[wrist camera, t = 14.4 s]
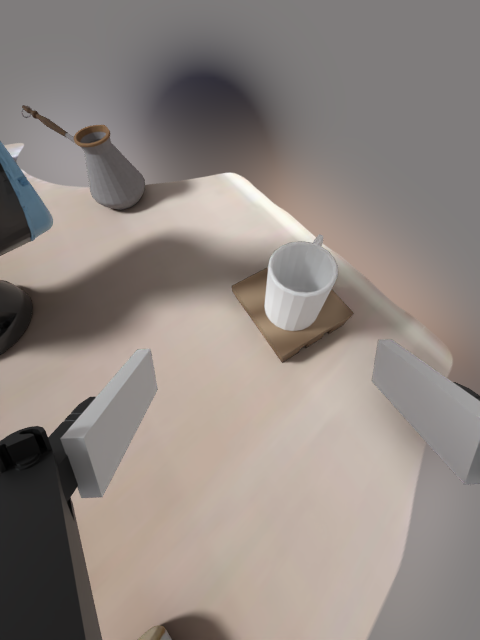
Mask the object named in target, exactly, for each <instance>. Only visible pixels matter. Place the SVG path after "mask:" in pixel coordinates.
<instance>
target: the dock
mask: <svg viewBox="0 0 480 640" xmlns="http://www.w3.org/2000/svg"><path fill="white" fill-rule="evenodd" d="M267 274H268V267H267V268H266V269H264V270H262V271H260V272H258V273H256V274H254V275H252V276H250V277H248V278H246V279H244V280H242V281H240V282H238V283H237V284H235V285H233V286H232V291H233V293H234V294H235V296H236V297H237V299H238V300H239V302H240V303H241V305H242V306H243V307H244V309H245V310H246V312H247V313H248V315H249V316H250V317H251V319H252V320H253V322H254V323H255V325H256V326H257V327H258V329H259V330H260V332H261V333H262V335H263V336H264V337H265V339H266V340H267V342H268V343H269V345H270V346H271V347H272V349H273V350H274V352H275V353H276V355H277V356H278V357H279V359H280V360H281V362H284V361H285V360H287V359H289V358H290V357H292V356H294V355H295V354H297V353H298V352H299V350H300V348H302V347H303V346H305V347H306V348H307V347H308V346H310V345H311V344H313V343H315V342H316V341H318V340H320V339H321V338H322V337H323V335H324V334H325V333H326V332H328V334H329V333H331V332H333V331H334V330H336V329H337V328H339V327H341V326H342V325H344V323H345V322H346V321H347V320H348V319H349V318H350V317H351V316H352V315H353V314H354V313H353V312H352V311H351V310H350V309H349V308H348V306H347V305H346V304H345V303H344V302H343V301H342V300H341V299H340V298H339V297H338V296H337V295H336V294H335V292H334V291H333V290H332V289H331V291H330V293H329V295H328V297H327V299H326V301H325V303H324V304H323V306H322V308H321V310H320V312H319V314H318V316H317V318H316V320H315V321H314V322H313V323H312V324H311V325H310V326H309V327H307V328H305V329H303V330H298V331H289V330H284V329H281V328H279V327H277V326H276V325H274V324H273V323H272V322H271V321H270V320H269V318H268V317H267V315H266V312H265V307H264V305H265V295H266V285H267Z"/></svg>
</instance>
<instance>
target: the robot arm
mask: <svg viewBox="0 0 480 640" xmlns="http://www.w3.org/2000/svg"><path fill="white" fill-rule="evenodd" d="M52 225H53V218H52V216H51V214H50V212H49V211H48V209H47V208H46V206H45V204H44V203H43V201H42V200H41V198H40V197H39V196H38V194H37V193H36V191H35V190H34V188H33V187H32V185H31V184H30V183H29V181H28V180H27V178H26V177H25V175H24V174H23V172H22V171H21V169H20V168H19V166H18V165H17V163H16V162H15V161H14V159H13V158H12V156H11V155H10V153H9V152H8V151H7V149H6V148H5V147H4V145H3V144H2V143H1V141H0V256H1V255H3V254H5V253H7V252H9V251H11V250H13V249H16V248H18V247H20V246H22V245H24V244H26V243H28V242H31V241H33V240H34V239H35V238H36V237H38V236H39V235H41V234H43V233H44V232H46V231H48V230H49V229H50V228H51V227H52ZM31 316H32V302H31V299H30V297H29V296H28V295H27V293H25V292H24V291H23V290H21V289H20V288H18V287H17V286H15V285H14V284H12V283H10V282H7V281H3V280H0V355H1V354H2V353H4V352H5V351H6V350H8V349H9V348H10V347H11V346H12V345H13V344H15V343H16V342H17V340H18V339H19V338H20V337H21V336H22V334H23V333H24V332H25V330H26V328H27V326H28V324H29V322H30V320H31ZM372 382H373V383H374V384H375V385H376V386H377V388H378V389H379V390H380V391H381V392H382V393H383V394H384V395H385V397H386V398H387V399H388V400H389V401H390V402H391V403H392V404H393V405H394V407H395V408H396V409H397V410H398V411H399V412H400V413H401V414H402V416H403V417H404V418H405V419H406V420H407V421H408V422H409V423H410V424H411V426H412V427H413V428H414V429H415V430H416V431H417V432H418V433H419V435H420V436H421V437H422V438H423V439H424V440H425V441H426V442H427V444H428V445H429V446H430V447H431V448H432V449H433V450H434V451H435V452H436V453H437V455H438V456H439V457H440V458H441V459H442V460H443V461H444V462H445V464H446V465H447V466H448V467H449V468H450V469H451V470H452V471H453V473H454V474H455V475H456V476H457V477H458V478H459V479H460V480H461V482H462V483H463V484H480V396H479V395H478V394H476V393H475V392H473V391H472V390H470V389H469V388H467V387H464V386H462V385H460V384H458V383H456V382H452V381H450V380H449V379H448V378H446V377H445V376H443V375H442V374H440V373H439V372H438V371H436V370H435V369H433V368H432V367H430V366H429V365H428V364H426V363H425V362H423V361H422V360H420V359H419V358H418V357H416V356H415V355H413V354H412V353H410V352H409V351H408V350H406V349H405V348H403V347H402V346H400V345H399V344H398V343H396V342H395V341H393V340H392V339H385V340H378V344H377V350H376V356H375V363H374V369H373V376H372ZM157 390H158V388H157V383H156V377H155V371H154V366H153V360H152V354H151V349H137V350H136V352H135V353H134V354H133V355H132V356H131V357H130V359H129V360H128V361H127V362H126V363H125V364H124V365H123V367H122V368H121V369H120V370H119V371H118V372H117V374H116V375H115V376H114V377H113V378H112V379H111V381H110V382H109V383H108V384H107V385H106V386H105V388H104V389H103V390H102V391H101V392H100V393H99V394H98V396H97V397H89V398H88V399H86V400H85V401H83V402H82V403H80V404H79V405H78V406H77V407H76V408H75V409H74V410H73V411H72V412H71V414H70V415H69V416H68V417H67V418H66V419H65V421H64V422H62V423H61V424H60V425H59V427H58V428H57V429H56V430H55V431H54V432H53V433H52V434H51V435H50V436H49V437H47V434H46V431H45V430H44V428H43V427H39V426H34V427H28V428H25V429H21V430H19V431H17V432H14V433H12V434H10V435H9V436H7V437H6V438H4V439H3V440H1V441H0V640H102V637H101V632H100V628H99V623H98V618H97V614H96V609H95V604H94V600H93V595H92V591H91V586H90V581H89V577H88V572H87V568H86V563H85V558H84V554H83V549H82V545H81V540H80V535H79V531H78V526H77V521H76V517H75V512H74V508H73V503H72V501H71V498H70V497H71V496H72V494H73V492H74V491H75V489H76V488H77V487H78V490H79V493H80V495H81V498H94V497H103V495H104V493H105V491H106V489H107V487H108V485H109V483H110V481H111V479H112V477H113V475H114V473H115V471H116V470H117V468H118V466H119V464H120V462H121V460H122V458H123V456H124V454H125V452H126V450H127V448H128V446H129V444H130V442H131V440H132V438H133V436H134V435H135V433H136V431H137V429H138V427H139V425H140V423H141V421H142V419H143V417H144V415H145V413H146V411H147V409H148V407H149V405H150V403H151V401H152V400H153V398H154V396H155V394H156V392H157Z"/></svg>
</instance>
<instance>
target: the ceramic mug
mask: <svg viewBox="0 0 480 640" xmlns="http://www.w3.org/2000/svg"><path fill="white" fill-rule="evenodd" d="M138 640H172V639H171V637H170V636H169V634H168V632H167V630H166V629H165V628H164V627H163V626H154V627H153V628H151V629H150V630H148V631H147V632H146V633H145V634H143V635H142V636H141V637H140V638H139V639H138Z"/></svg>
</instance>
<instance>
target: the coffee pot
mask: <svg viewBox="0 0 480 640" xmlns="http://www.w3.org/2000/svg"><path fill="white" fill-rule="evenodd" d="M22 108H23V109H22V111H21V114H22V115H23V113H22V112H23V110H25V111H27V112H28V113H30V115H29V116H27V117H25V118H28V117H30V116H31V114H32V116H33V117H34V118H37V119H39V120H40V121H41V122H43V124H45V125H46V126H47V127H49V128H51V129H53V130H54V131H56V132H58V133H59V134H61V135H63V136H65V137H67V138H68V139H70V140H71V141H73V142H74V143H76V144H77V145H78V146H80V147H81V148H82V149H83V150H84V153H85V159H86V166H87V172H88V178H89V185H90V192H91V194H92V197H93V198H94V199H95V200H96V201H97V202H98V203H99V204H101V205H103V206H105V207H109V208H113V209H127V208H129V207H132V206H133V205H135V204H136V203H137V202H138V201H139V200H140V197H141V196H142V194H143V192H144V189H145V180H144V178H143V176H142V175H141V174H140V173H139V171H138V170H137V169H136V168H135V167H134V166H133V165H132V164H131V163H130V162H129V161H128V160H127V159H126V158H125V157H124V156H123V155H122V154H121V153H120V151H119V150H118V149H117V148H116V147H115V146H114V145H113V144H112V143H111V141H110V131H109V130H108V128H107V127H106V126H105V125H93V126H89V127H85V128H83V129H81V130H80V131H78V132H77V133H76V134H75V136H74V137H73V136H71V135H70V134H68V133H67V132H66V131H64V130H63V129H62V128H60V127H59V126H57V125H56V124H55V123H53V122H52V121H50V120H49V119H47V118H45V117H43V116H41V115H39V114H38V112H37V111H32V109H31V108H30V107H29V106H24V105H23V106H22ZM23 117H24V116H23Z"/></svg>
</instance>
